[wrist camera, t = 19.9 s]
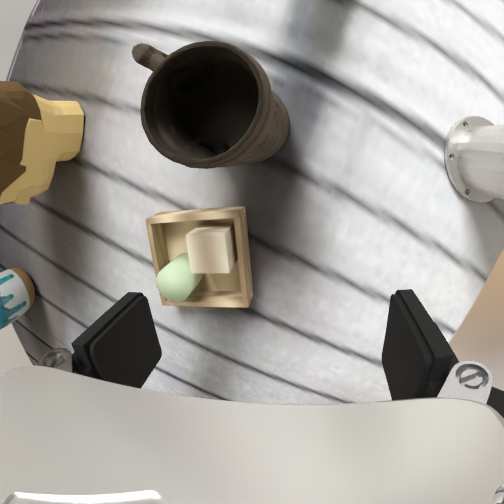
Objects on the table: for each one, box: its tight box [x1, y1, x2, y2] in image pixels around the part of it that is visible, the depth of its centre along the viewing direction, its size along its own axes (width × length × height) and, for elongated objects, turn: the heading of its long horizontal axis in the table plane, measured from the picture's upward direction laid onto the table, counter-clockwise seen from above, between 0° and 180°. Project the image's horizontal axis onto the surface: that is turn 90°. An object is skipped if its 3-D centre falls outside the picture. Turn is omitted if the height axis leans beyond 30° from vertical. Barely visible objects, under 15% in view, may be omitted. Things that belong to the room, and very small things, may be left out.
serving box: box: [146, 206, 254, 308], centre depth 41 cm, size 13×13×4 cm
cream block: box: [185, 222, 238, 273], centre depth 39 cm, size 5×5×6 cm
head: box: [0, 81, 84, 205], centre depth 30 cm, size 14×21×25 cm, turn 169°
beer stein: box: [132, 41, 289, 169], centre depth 28 cm, size 15×11×20 cm
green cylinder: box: [156, 253, 204, 302], centre depth 41 cm, size 5×5×6 cm
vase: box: [0, 268, 35, 329], centre depth 45 cm, size 11×11×19 cm
